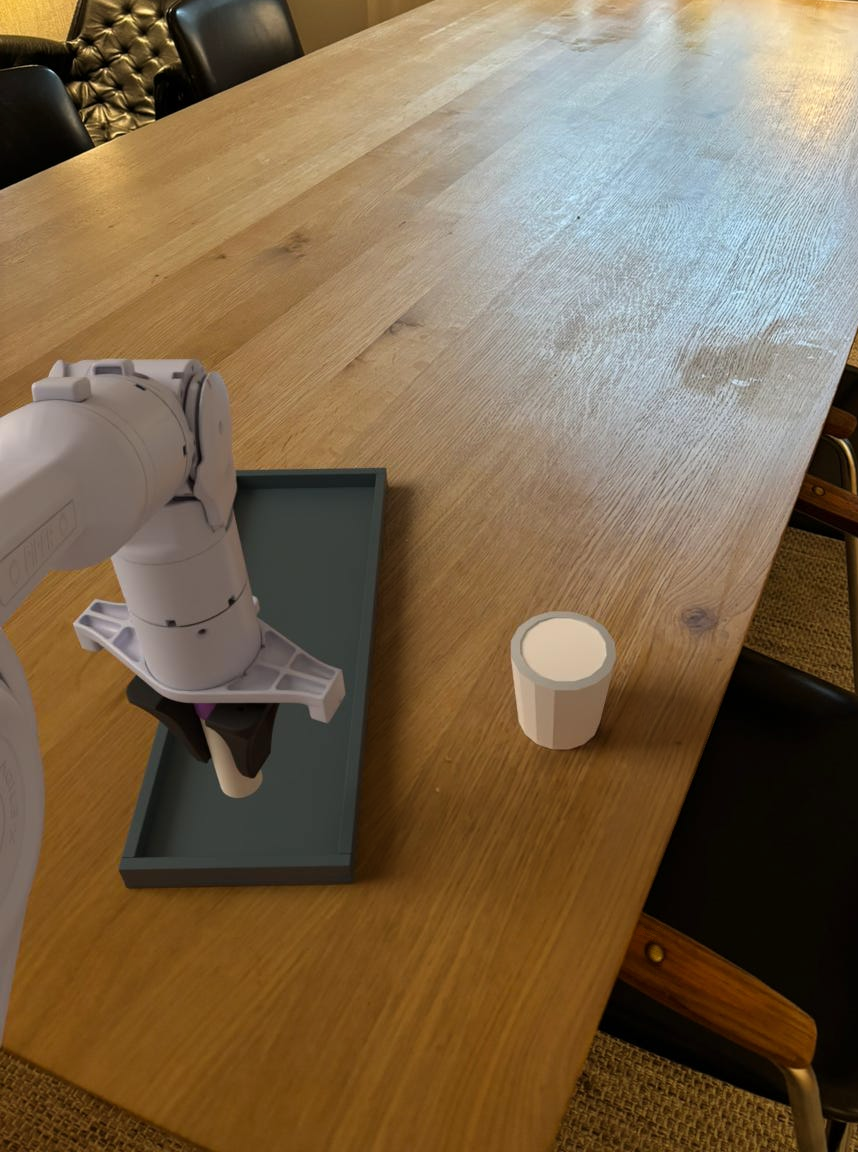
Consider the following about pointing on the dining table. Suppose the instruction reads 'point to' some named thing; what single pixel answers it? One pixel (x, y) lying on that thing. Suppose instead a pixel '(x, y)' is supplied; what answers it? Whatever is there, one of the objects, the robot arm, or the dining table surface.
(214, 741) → the glue stick
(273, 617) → the desk tray
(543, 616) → the white cup
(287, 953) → the dining table surface
